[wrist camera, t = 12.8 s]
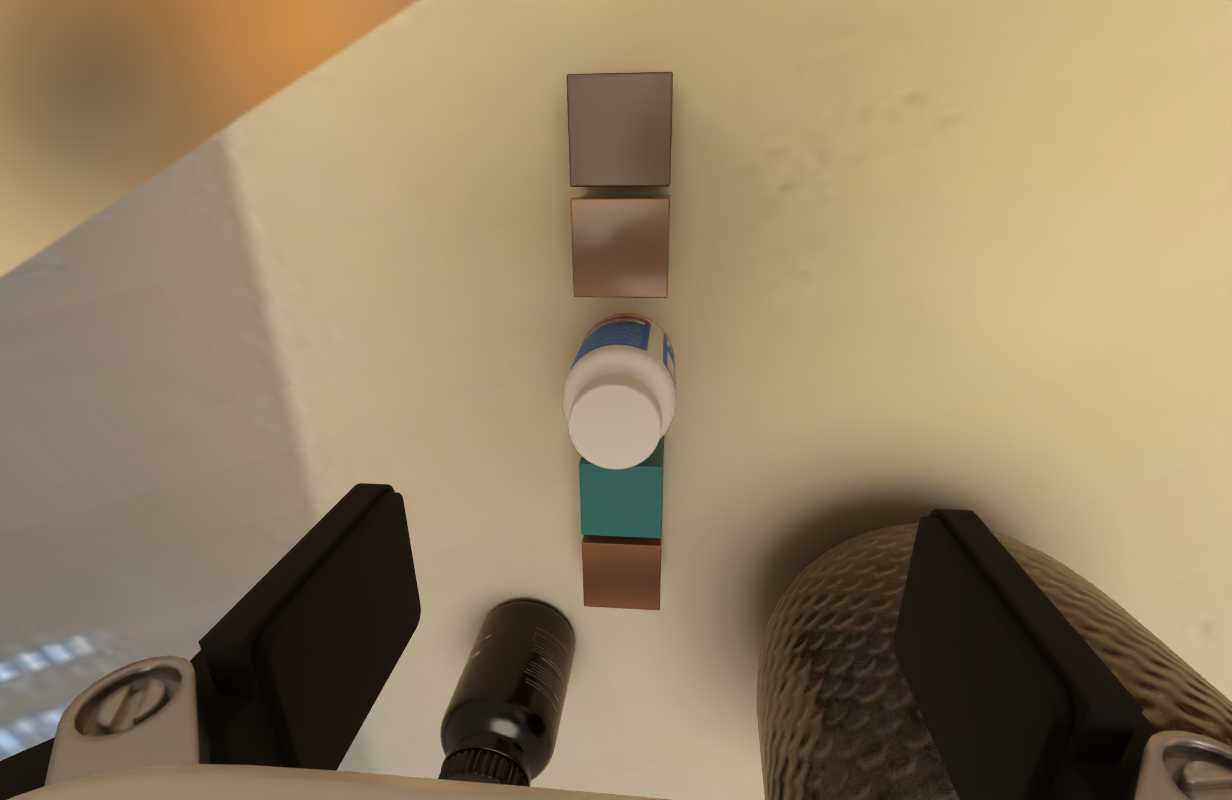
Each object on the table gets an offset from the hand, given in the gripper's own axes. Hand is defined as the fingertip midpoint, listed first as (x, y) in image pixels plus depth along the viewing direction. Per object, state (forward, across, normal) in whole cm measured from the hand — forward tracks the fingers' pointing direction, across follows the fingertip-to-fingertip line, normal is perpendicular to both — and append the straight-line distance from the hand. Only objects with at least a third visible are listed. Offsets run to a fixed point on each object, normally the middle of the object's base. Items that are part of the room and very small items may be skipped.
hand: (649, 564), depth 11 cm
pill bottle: (+24, +2, +4) cm, 24 cm away
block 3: (+23, +2, +10) cm, 26 cm away
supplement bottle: (+23, +9, +24) cm, 35 cm away
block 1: (+24, +2, -8) cm, 25 cm away
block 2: (+24, +2, -3) cm, 24 cm away
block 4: (+23, +2, +15) cm, 28 cm away
